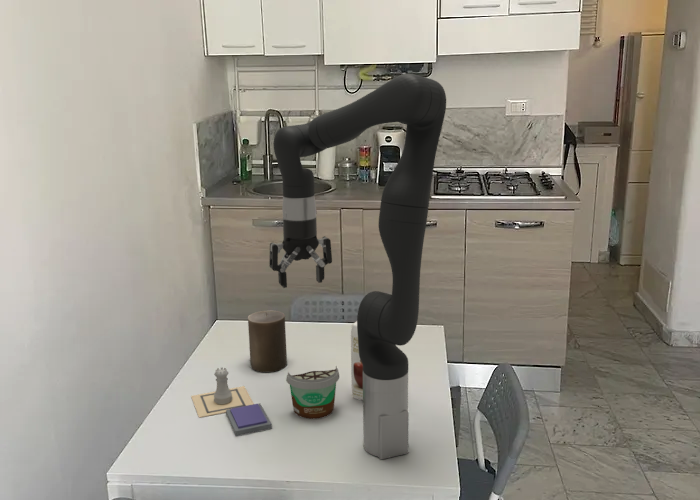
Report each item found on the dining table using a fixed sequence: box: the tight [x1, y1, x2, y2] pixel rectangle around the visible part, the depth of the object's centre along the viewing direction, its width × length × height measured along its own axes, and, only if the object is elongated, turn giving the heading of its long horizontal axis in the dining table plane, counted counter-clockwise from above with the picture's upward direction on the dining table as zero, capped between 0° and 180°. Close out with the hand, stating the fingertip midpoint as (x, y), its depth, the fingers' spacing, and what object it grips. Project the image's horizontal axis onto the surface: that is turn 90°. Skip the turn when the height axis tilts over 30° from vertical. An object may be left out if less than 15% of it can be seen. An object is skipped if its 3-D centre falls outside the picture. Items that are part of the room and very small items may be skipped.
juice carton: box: [350, 320, 363, 401], centre depth 161 cm, size 8×9×19 cm
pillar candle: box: [247, 309, 288, 373], centre depth 179 cm, size 10×10×15 cm
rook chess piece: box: [214, 367, 233, 405], centre depth 161 cm, size 4×4×8 cm
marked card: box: [190, 385, 255, 419], centre depth 162 cm, size 11×13×1 cm
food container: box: [285, 365, 340, 420], centre depth 154 cm, size 12×6×10 cm, turn 105°
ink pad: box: [225, 403, 273, 437], centre depth 153 cm, size 10×8×2 cm
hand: (301, 284), depth 157 cm, fingers open, 8 cm apart
